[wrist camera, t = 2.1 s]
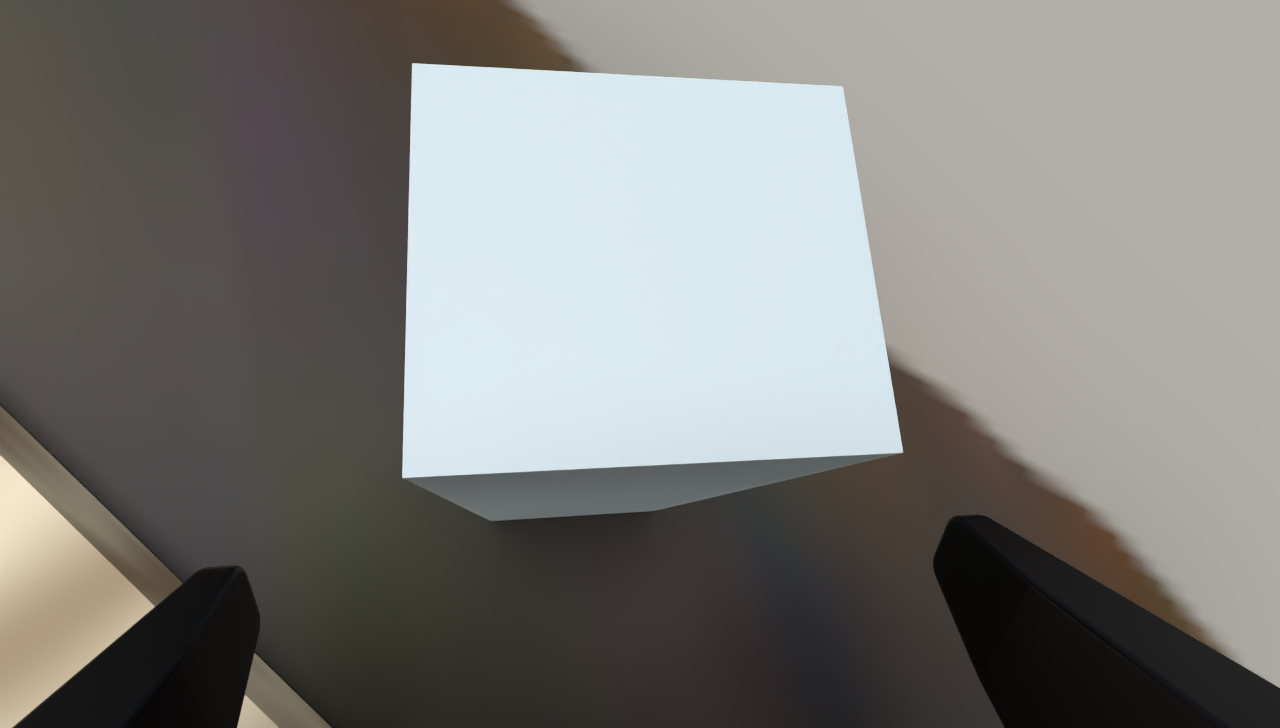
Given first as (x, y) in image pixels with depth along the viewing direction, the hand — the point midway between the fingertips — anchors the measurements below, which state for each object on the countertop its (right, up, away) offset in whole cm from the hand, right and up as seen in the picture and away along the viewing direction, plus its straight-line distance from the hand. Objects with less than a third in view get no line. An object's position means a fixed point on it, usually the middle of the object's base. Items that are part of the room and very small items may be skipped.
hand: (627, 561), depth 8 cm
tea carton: (-2, 0, +10) cm, 10 cm away
